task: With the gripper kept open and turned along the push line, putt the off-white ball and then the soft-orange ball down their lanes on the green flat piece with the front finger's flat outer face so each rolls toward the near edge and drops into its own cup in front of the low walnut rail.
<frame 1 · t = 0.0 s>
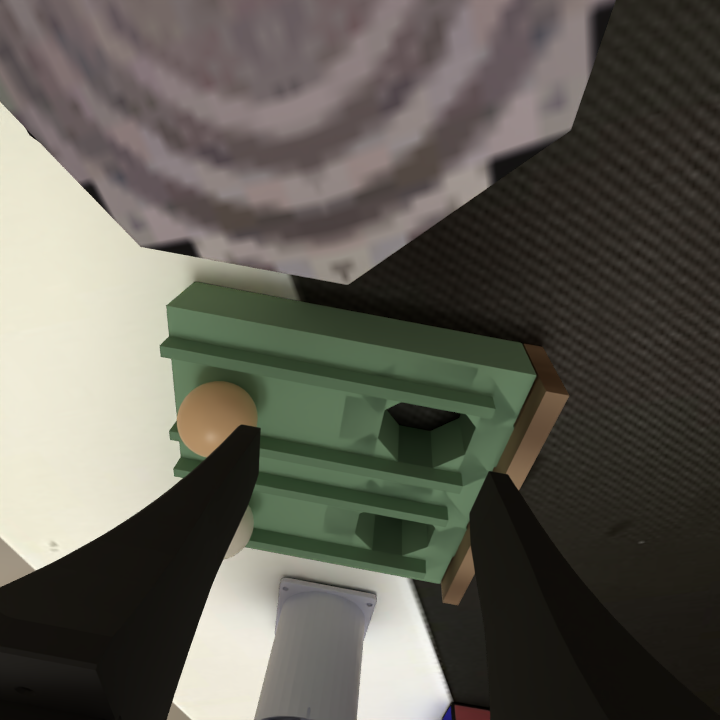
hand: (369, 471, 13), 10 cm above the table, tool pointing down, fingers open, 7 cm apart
ball orange: (218, 419, 20), point 5 cm above the table, touching green flat piece
green flat piece: (336, 435, 26), on the table
can: (340, 20, 16), on the table
ball white: (221, 525, 24), point 5 cm above the table, touching green flat piece
backstop: (481, 462, 26), on the table
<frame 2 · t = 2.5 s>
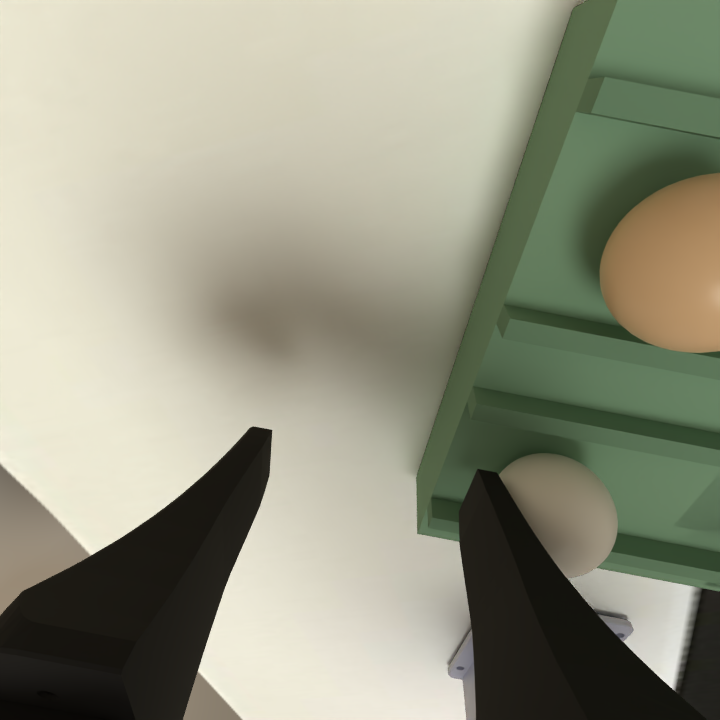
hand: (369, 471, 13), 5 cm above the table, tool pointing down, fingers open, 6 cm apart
ball orange: (698, 266, 9), point 5 cm above the table, touching green flat piece
green flat piece: (706, 357, 15), on the table
ball white: (549, 512, 13), point 5 cm above the table, touching green flat piece, gripper
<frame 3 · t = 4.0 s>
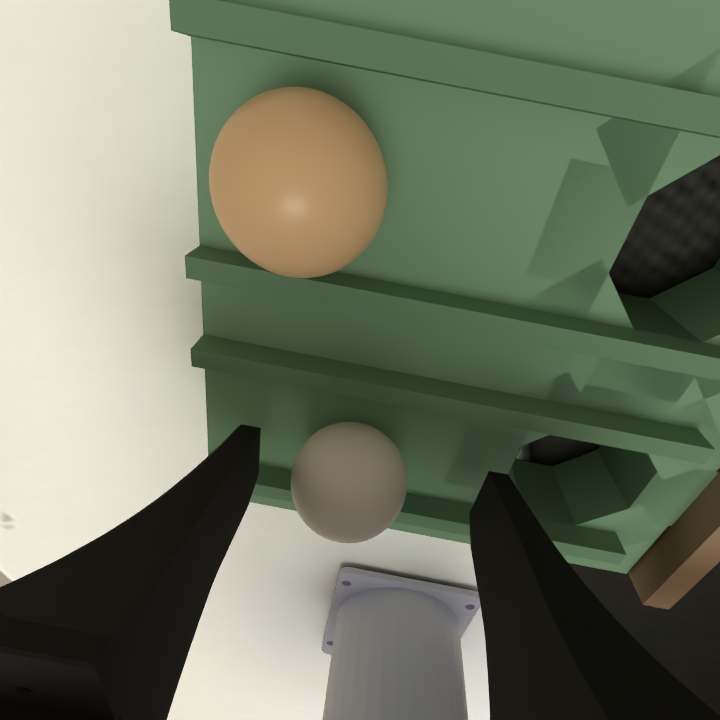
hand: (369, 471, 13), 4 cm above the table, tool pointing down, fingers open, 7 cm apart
ball orange: (301, 189, 9), point 5 cm above the table, touching green flat piece
green flat piece: (473, 313, 15), on the table
ball white: (349, 480, 13), point 5 cm above the table, tilted 95°, touching green flat piece
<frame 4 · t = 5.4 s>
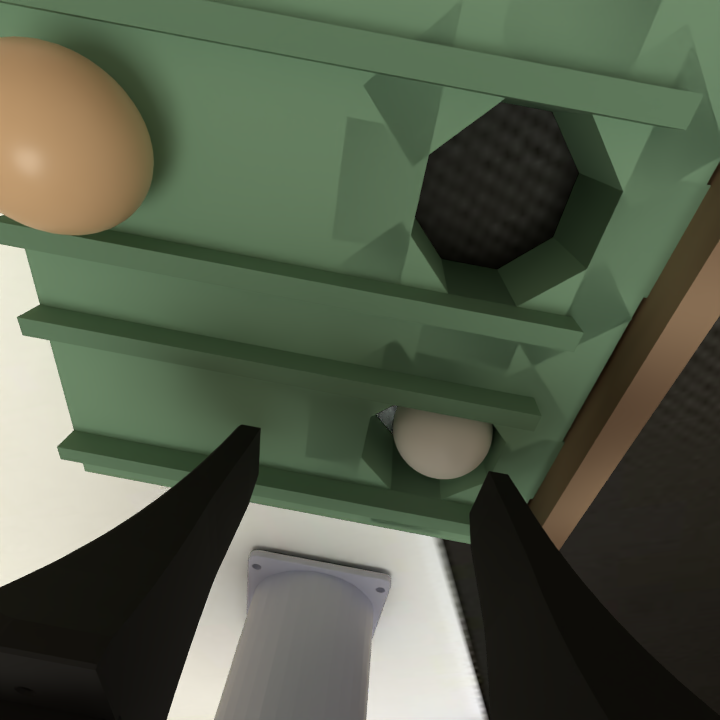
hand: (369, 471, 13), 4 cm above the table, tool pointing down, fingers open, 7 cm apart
ball orange: (57, 145, 9), point 5 cm above the table, touching green flat piece
green flat piece: (330, 286, 15), on the table
ball white: (441, 428, 16), point 2 cm above the table, tilted 30°
backstop: (582, 333, 15), on the table
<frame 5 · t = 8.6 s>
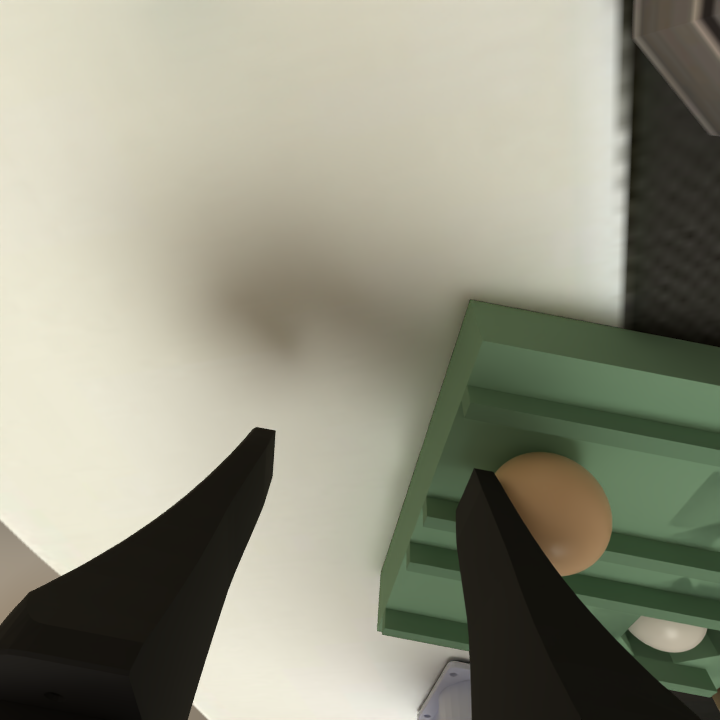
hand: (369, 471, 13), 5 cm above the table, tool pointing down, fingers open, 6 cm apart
ball orange: (544, 511, 13), point 5 cm above the table, touching green flat piece, gripper
green flat piece: (597, 503, 19), on the table
ball white: (658, 605, 20), point 2 cm above the table, tilted 5°
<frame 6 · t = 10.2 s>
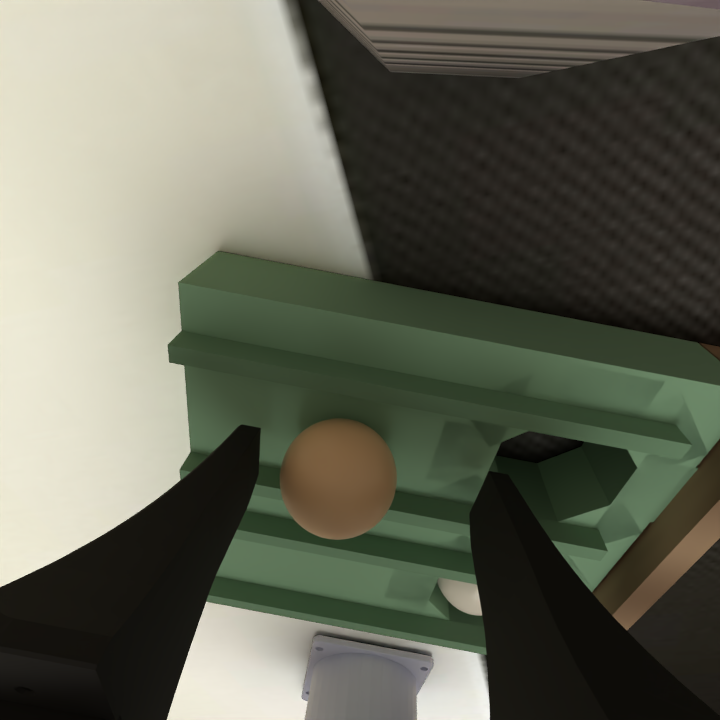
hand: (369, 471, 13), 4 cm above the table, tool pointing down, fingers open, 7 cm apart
ball orange: (338, 476, 13), point 5 cm above the table, tilted 111°, touching green flat piece
green flat piece: (405, 467, 19), on the table
ball white: (473, 570, 20), point 2 cm above the table, tilted 7°
backstop: (601, 504, 19), on the table
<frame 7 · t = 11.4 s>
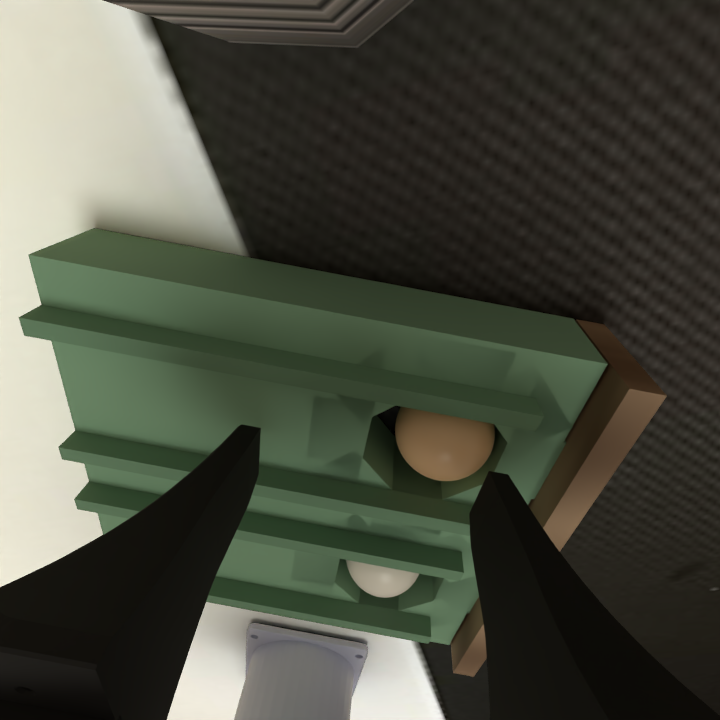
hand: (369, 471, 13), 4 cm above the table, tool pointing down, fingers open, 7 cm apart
ball orange: (443, 430, 16), point 2 cm above the table, tilted 40°
green flat piece: (310, 449, 19), on the table
ball white: (384, 553, 20), point 2 cm above the table, tilted 9°
backstop: (506, 486, 19), on the table
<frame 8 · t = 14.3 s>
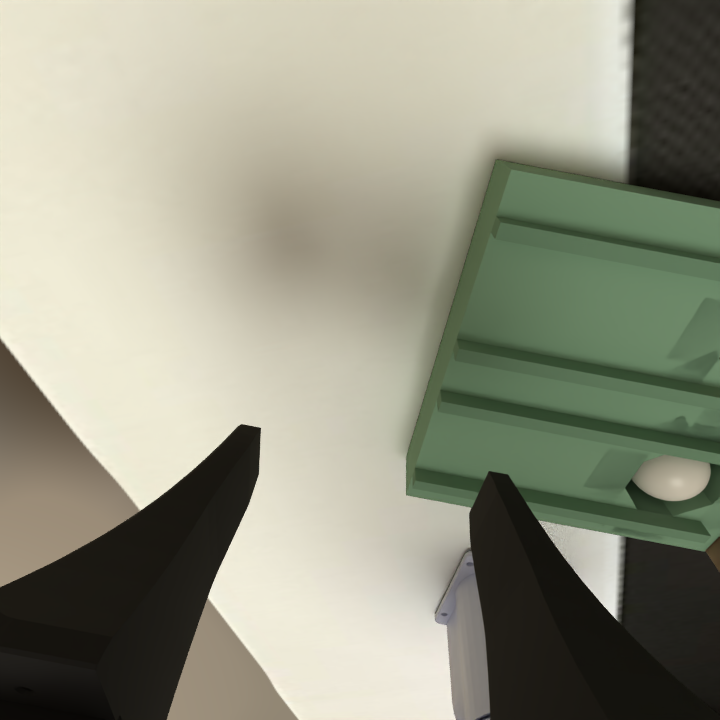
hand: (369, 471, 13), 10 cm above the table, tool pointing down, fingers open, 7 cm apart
green flat piece: (604, 369, 22), on the table
ball white: (666, 465, 22), point 2 cm above the table, tilted 15°
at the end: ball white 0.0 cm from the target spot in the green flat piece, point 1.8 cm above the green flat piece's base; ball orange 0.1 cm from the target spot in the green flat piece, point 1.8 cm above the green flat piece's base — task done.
